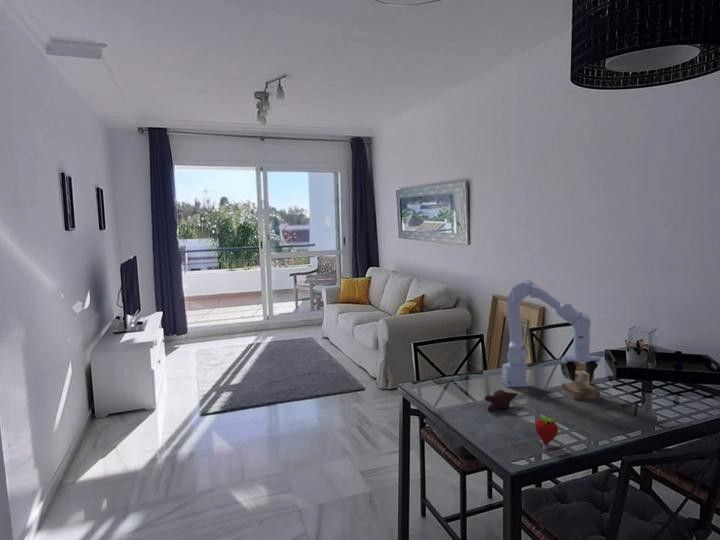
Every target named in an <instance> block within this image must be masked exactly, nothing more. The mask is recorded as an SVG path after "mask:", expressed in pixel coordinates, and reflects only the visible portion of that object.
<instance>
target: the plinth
mask: <svg viewBox="0 0 720 540" xmlns="http://www.w3.org/2000/svg"><path fill="white" fill-rule="evenodd" d="M562 390H563V391H564V392H565V393H564V394H566V395H567V394H568V395H569V396H568V395H567V396H568V397H569V398H571V397H572V398H573V399H572V398H571V399H572V400H574V399H580V400H600V395H601V394H600V392H601V391H600V390H598V389H597V388H595V387H594V386H593V385H591V384H589V389H579V390H578V389H576V388H575V387H573V386H572V382H564V383H562V382H561V391H562ZM563 391H562V392H563Z"/></svg>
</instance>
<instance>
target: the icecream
mask: <svg viewBox="0 0 720 540" xmlns="http://www.w3.org/2000/svg"><path fill="white" fill-rule="evenodd" d="M517 396H518V393H517V392H510V391H509V392H508V391H505V390H503V389H501V388H500V389H499V390H497V391H495V392H494V393H493V394H492V395H490V394H488V395H485V396H484V400H485V401H486V402H489V403H490V404H489V405H488V407H487V412H494V411H495V410H496V409H507V408H509V407H510V405H511V402H512V401H514V399H515V398H516V397H517Z"/></svg>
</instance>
